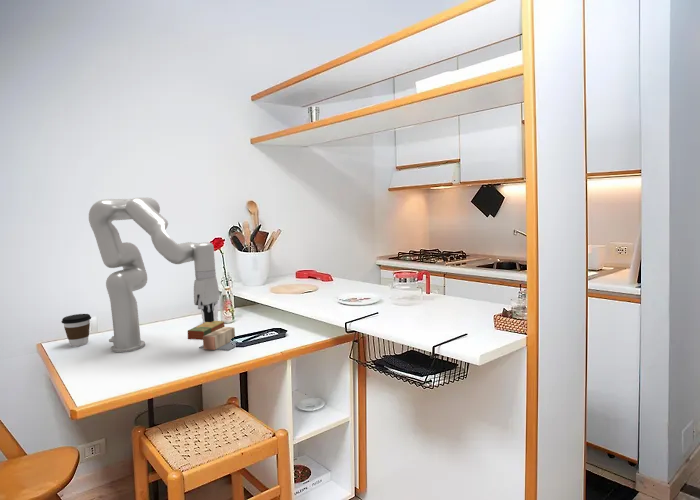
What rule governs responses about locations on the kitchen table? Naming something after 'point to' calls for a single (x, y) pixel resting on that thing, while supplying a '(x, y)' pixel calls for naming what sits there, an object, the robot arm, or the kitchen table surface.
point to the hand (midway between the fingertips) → (209, 321)
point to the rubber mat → (223, 347)
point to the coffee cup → (77, 328)
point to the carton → (204, 329)
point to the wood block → (218, 338)
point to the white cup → (213, 313)
